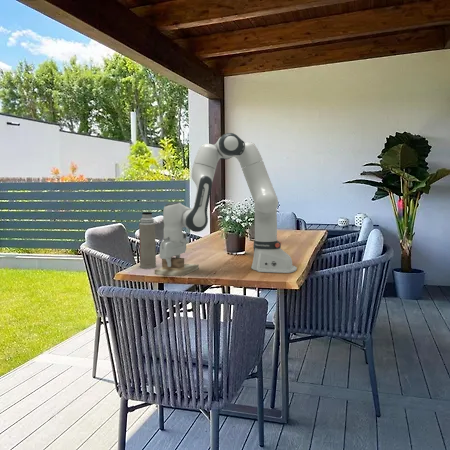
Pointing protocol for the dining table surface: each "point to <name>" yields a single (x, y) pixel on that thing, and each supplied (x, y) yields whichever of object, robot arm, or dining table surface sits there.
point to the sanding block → (174, 264)
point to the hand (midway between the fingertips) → (173, 265)
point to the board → (186, 270)
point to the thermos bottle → (147, 241)
